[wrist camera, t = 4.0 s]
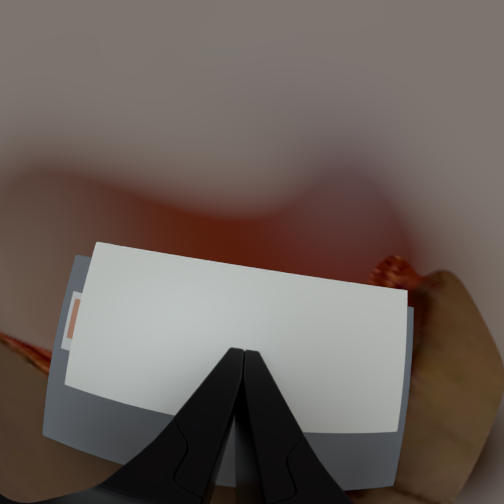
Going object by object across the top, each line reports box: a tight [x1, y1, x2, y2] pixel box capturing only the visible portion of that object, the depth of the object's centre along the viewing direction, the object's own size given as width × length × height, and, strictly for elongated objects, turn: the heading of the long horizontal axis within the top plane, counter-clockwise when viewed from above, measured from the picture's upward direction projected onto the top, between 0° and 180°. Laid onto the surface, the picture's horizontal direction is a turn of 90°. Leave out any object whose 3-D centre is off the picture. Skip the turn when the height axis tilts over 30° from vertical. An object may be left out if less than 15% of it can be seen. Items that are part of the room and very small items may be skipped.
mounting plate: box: [43, 255, 413, 490], centre depth 15 cm, size 12×22×5 cm, turn 82°
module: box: [65, 242, 407, 433], centre depth 13 cm, size 6×12×8 cm, turn 82°
